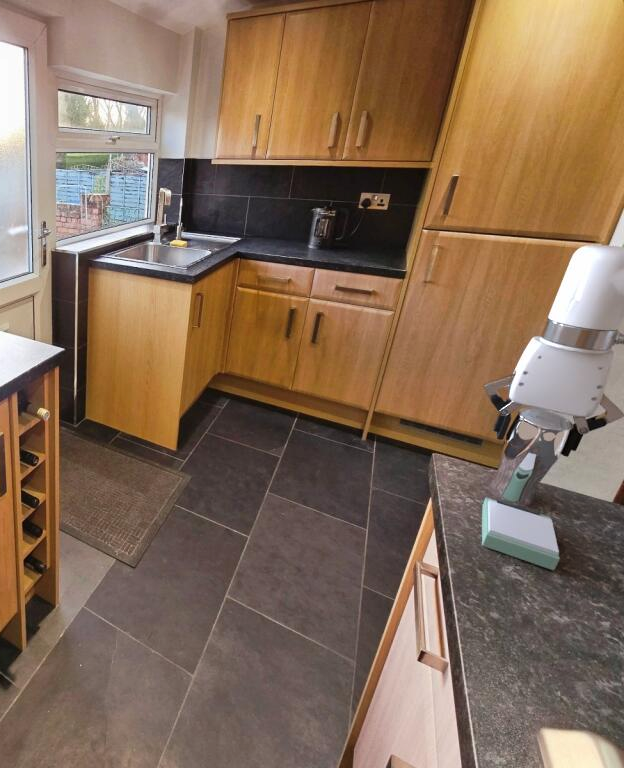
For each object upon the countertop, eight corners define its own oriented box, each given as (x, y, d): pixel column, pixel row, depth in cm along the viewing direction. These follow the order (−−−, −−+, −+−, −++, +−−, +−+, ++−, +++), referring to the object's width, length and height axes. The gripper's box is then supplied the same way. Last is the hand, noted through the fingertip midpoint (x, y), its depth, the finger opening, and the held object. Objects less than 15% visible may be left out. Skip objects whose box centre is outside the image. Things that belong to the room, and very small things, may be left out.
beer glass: (544, 505, 79) (586, 425, 72) (516, 515, 77) (556, 434, 70) (500, 479, 85) (535, 403, 78) (472, 489, 83) (505, 411, 76)
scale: (481, 507, 78) (487, 494, 77) (545, 527, 74) (552, 513, 73) (482, 545, 70) (488, 531, 69) (554, 571, 66) (561, 555, 65)
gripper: (653, 342, 69) (599, 452, 76) (500, 319, 78) (464, 419, 85) (669, 356, 63) (609, 474, 70) (502, 329, 72) (463, 436, 79)
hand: (530, 443), depth 77 cm, fingers open, 7 cm apart
